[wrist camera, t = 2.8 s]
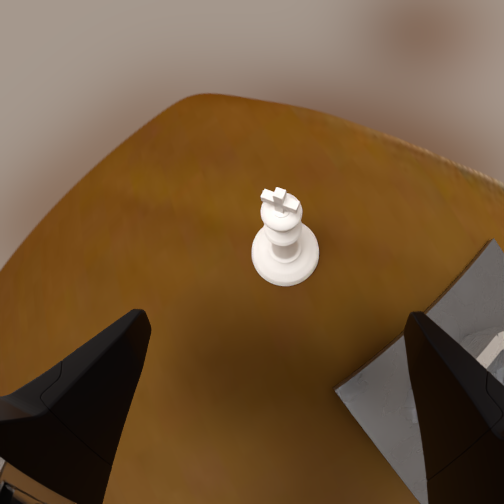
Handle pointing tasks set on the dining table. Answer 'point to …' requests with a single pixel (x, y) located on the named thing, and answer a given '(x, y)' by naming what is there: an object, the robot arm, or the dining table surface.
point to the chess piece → (284, 241)
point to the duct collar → (397, 375)
